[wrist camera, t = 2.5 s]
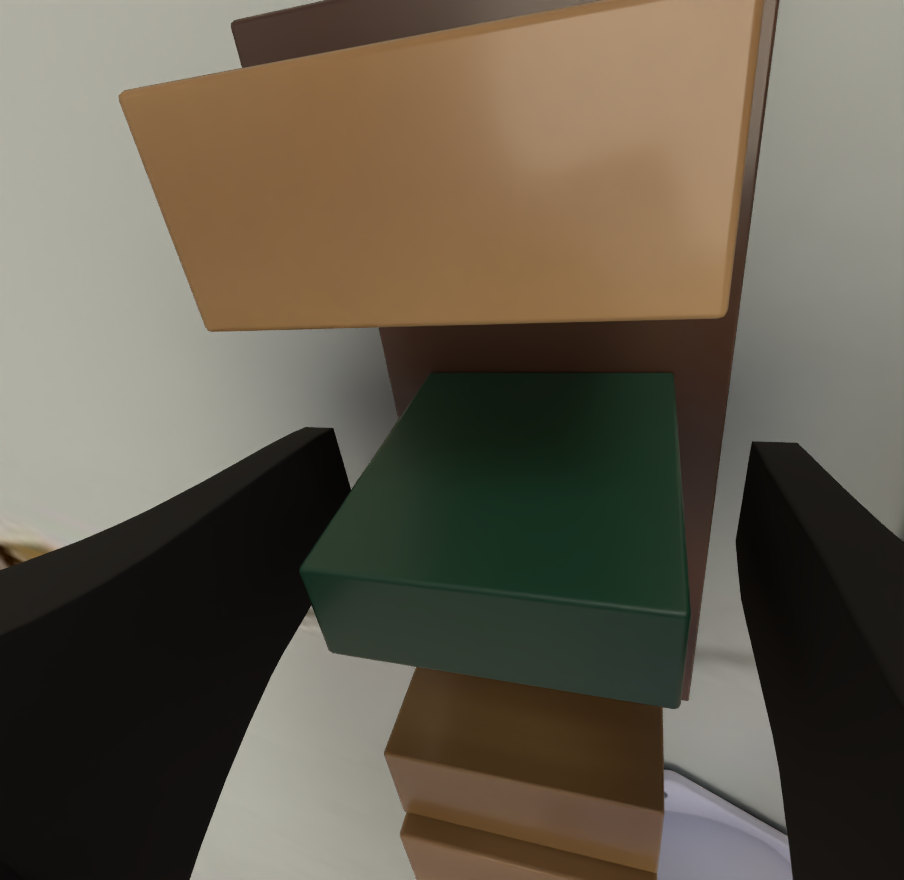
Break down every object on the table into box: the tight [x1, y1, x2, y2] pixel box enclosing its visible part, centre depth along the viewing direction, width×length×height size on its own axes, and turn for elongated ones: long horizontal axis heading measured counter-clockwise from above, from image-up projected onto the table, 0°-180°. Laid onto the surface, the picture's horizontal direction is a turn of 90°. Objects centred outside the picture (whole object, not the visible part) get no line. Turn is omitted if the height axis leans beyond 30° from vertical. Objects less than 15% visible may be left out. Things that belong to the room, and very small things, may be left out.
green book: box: [299, 373, 691, 709], centre depth 10 cm, size 2×5×6 cm, turn 98°
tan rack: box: [119, 0, 779, 880], centre depth 11 cm, size 16×7×7 cm, turn 8°
